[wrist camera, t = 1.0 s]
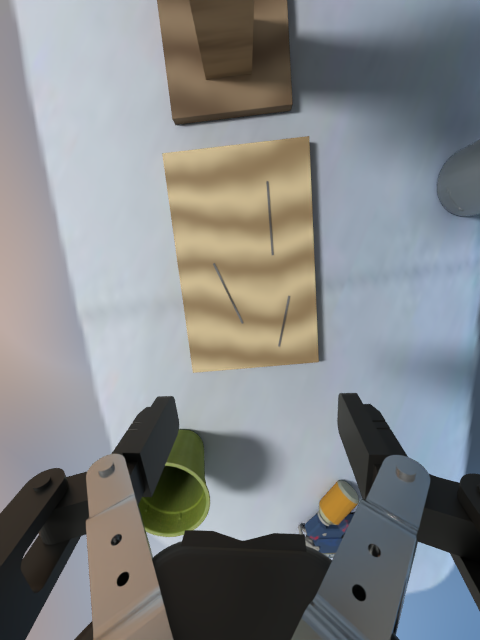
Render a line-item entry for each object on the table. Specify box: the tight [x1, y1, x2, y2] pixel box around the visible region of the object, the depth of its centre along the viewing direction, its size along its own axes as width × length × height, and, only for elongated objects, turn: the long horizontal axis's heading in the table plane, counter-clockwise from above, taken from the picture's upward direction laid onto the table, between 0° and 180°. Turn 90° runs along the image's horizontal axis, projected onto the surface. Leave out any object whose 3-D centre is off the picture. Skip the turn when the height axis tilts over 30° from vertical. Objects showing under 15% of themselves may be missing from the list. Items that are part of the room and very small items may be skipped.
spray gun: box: [298, 480, 359, 558], centre depth 47 cm, size 21×4×15 cm
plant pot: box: [139, 429, 210, 537], centre depth 41 cm, size 12×12×11 cm
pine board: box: [162, 136, 319, 373], centre depth 40 cm, size 32×20×2 cm, turn 6°
